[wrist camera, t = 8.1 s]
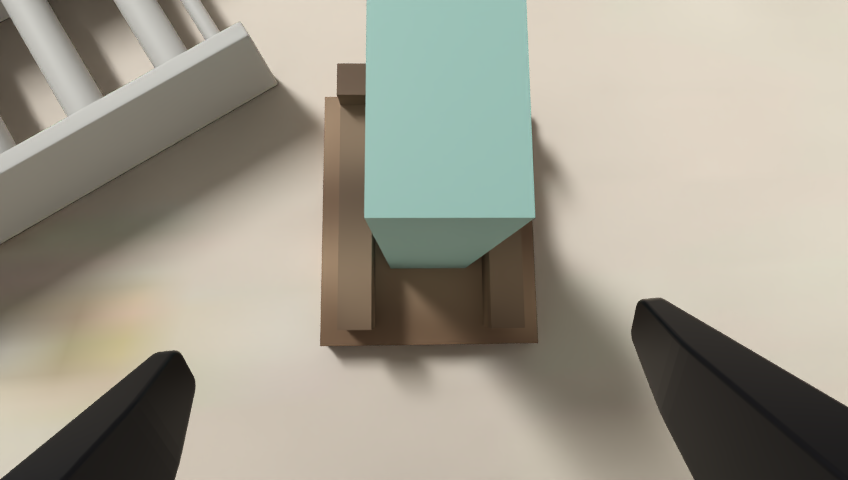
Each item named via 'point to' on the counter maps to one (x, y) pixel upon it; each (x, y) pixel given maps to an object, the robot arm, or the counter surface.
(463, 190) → the mint green tall box
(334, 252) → the track board
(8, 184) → the test tube rack
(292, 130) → the counter surface
